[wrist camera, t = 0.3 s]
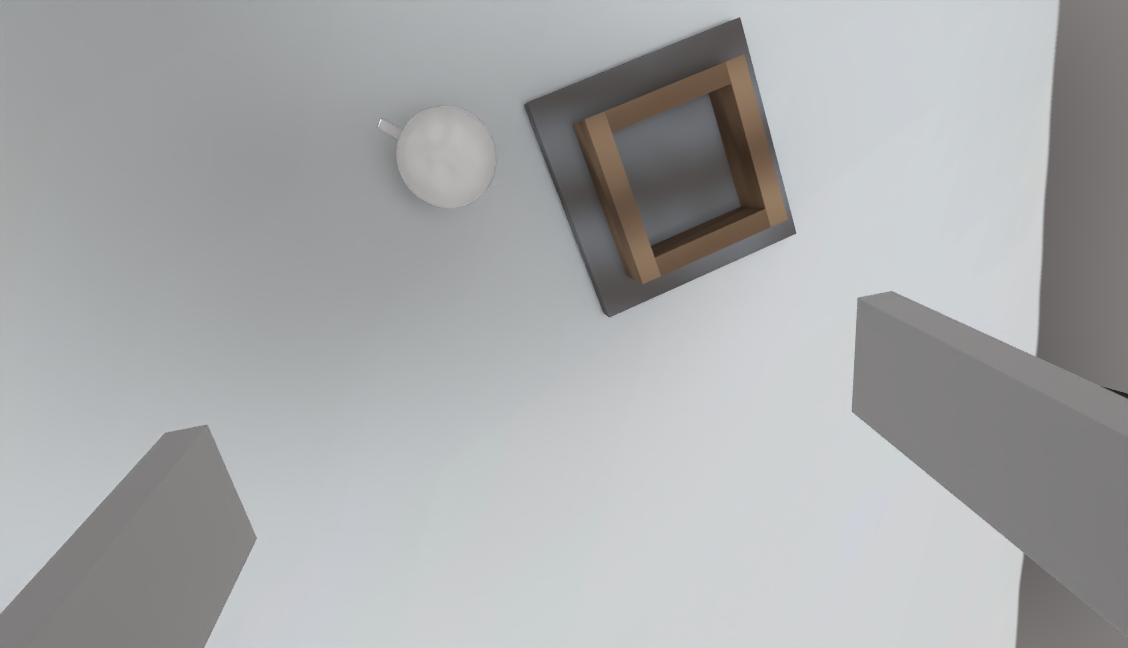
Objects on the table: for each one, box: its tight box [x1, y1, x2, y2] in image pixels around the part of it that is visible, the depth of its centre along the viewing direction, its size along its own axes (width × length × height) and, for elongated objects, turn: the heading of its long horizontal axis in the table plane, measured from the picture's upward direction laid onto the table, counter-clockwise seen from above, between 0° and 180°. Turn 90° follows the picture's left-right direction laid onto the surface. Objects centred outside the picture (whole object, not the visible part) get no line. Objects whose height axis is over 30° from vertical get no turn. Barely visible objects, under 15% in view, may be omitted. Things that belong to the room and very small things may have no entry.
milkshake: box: [377, 106, 496, 208], centre depth 30 cm, size 4×5×10 cm
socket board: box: [524, 17, 796, 317], centre depth 36 cm, size 14×14×4 cm
